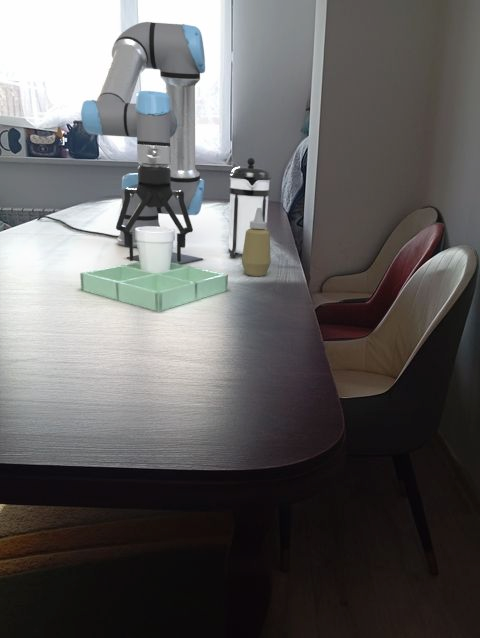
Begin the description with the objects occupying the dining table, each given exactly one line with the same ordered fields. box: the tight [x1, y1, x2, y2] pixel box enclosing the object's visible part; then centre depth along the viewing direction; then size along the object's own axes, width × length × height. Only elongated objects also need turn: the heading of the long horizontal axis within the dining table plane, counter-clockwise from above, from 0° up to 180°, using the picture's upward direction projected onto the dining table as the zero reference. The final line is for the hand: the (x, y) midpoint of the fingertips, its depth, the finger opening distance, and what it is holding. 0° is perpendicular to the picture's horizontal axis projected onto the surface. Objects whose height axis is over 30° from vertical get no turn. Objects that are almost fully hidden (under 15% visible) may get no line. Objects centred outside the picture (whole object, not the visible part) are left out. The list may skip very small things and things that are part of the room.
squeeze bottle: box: [241, 208, 272, 277], centre depth 140 cm, size 8×8×18 cm
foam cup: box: [135, 226, 176, 273], centre depth 126 cm, size 10×9×13 cm
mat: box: [126, 251, 204, 265], centre depth 155 cm, size 16×16×1 cm
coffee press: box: [227, 157, 272, 259], centre depth 164 cm, size 17×16×30 cm
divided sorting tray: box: [79, 261, 229, 313], centre depth 121 cm, size 24×24×4 cm
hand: (155, 260), depth 127 cm, fingers open, 11 cm apart
